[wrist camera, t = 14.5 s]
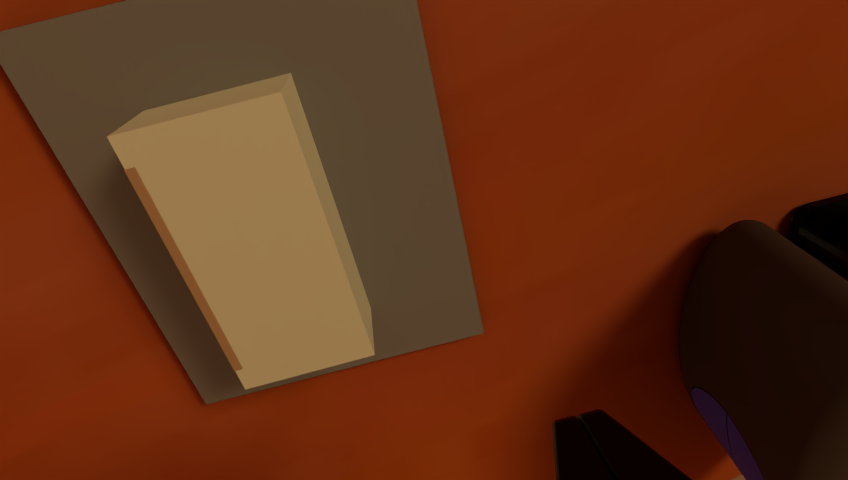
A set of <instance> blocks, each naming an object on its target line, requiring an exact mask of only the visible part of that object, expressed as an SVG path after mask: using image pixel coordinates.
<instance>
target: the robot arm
mask: <svg viewBox="0 0 848 480" xmlns="http://www.w3.org/2000/svg"><path fill="white" fill-rule="evenodd" d="M790 241H791V242H792V243H794V244H795V245H796V246H798V247H799V248H801V249H802V250H804V251H805V252H806V253H808V254H809V255H811V256H812V257H814V258H815V259H817V260H818V261H819V262H821V263H822V264H824V265H825V266H827V267H828V268H829V269H831V270H832V271H834V272H835V273H837V274H838V275H840V276H841V277H842V278H844V279H845V280H847V281H848V193H847V194H843V195H839V196H835V197H831V198H827V199H823V200H819V201H815V202H811V203H807V204H805V205H802V206H801V207H800V208H798V210H797V211H796V212H795V215H794V219H793V225H792V231H791V238H790ZM553 439H554V454H555V469H556V480H691V479H690V478H689V477H688V476H686V475H685V474H684V473H682V472H681V471H680V470H679V469H677V468H676V467H675V466H674V465H672V464H671V463H670V462H668V461H667V460H666V459H665V458H663V457H662V456H661V455H659V454H658V453H657V452H656V451H654V450H653V449H652V448H650V447H649V446H648V445H647V444H645V443H644V442H643V441H641V440H640V439H639V438H638V437H636V436H635V435H634V434H632V433H631V432H630V431H629V430H627V429H626V428H625V427H623V426H622V425H621V424H620V423H618V422H617V421H616V420H615V419H613V418H612V417H611V416H609V415H608V414H607V413H606V412H604V411H602V410H599V409H598V410H593V411H589V412H585V413H581V414H579V415H578V416H577V418H576V417H575V416H570V417H566V418H562V419H558V420H555V421H554V422H553Z"/></svg>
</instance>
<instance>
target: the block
mask: <svg viewBox="0 0 848 480" xmlns="http://www.w3.org/2000/svg"><path fill="white" fill-rule="evenodd" d="M107 138H108V140H109V142H110V144H111V145H112V147H113V149H114V151H115V153H116V155H117V156H118V158H119V160H120V162H121V164H122V166H123V167H124V169H125V170H124V171H125V173H126V175H127V176H128V178H129V180H130V182H131V184H132V186H133V187H134V189H135V191H136V193H137V195H138V197H139V198H140V200H141V202H142V204H143V206H144V207H145V209H146V211H147V213H148V215H149V217H150V218H151V220H152V222H153V224H154V226H155V227H156V229H157V231H158V233H159V235H160V237H161V238H162V240H163V242H164V244H165V246H166V248H167V249H168V251H169V253H170V255H171V257H172V258H173V260H174V262H175V264H176V266H177V268H178V269H179V271H180V273H181V275H182V277H183V278H184V280H185V282H186V284H187V286H188V288H189V289H190V291H191V293H192V295H193V297H194V299H195V300H196V302H197V304H198V306H199V308H200V309H201V311H202V313H203V315H204V317H205V319H206V320H207V322H208V324H209V326H210V328H211V329H212V331H213V333H214V335H215V337H216V339H217V340H218V342H219V344H220V346H221V348H222V350H223V351H224V353H225V355H226V357H227V359H228V360H229V362H230V364H231V366H232V368H233V370H234V371H235V372H236V374H237V375H238V377H239V379H240V381H241V383H242V385H243V386H244V388H245V390H246V389H250V388H253V387H257V386H261V385H265V384H268V383H272V382H276V381H280V380H283V379H287V378H291V377H295V376H298V375H302V374H306V373H309V372H313V371H317V370H321V369H324V368H328V367H332V366H336V365H339V364H343V363H347V362H350V361H354V360H358V359H362V358H365V357H369V356H373V355H375V352H374V340H373V327H372V315H371V307H370V304H369V301H368V298H367V295H366V292H365V289H364V287H363V284H362V281H361V278H360V275H359V272H358V269H357V266H356V263H355V260H354V257H353V254H352V251H351V248H350V245H349V242H348V240H347V237H346V234H345V231H344V228H343V225H342V222H341V219H340V216H339V213H338V210H337V207H336V204H335V201H334V198H333V195H332V193H331V190H330V187H329V184H328V181H327V178H326V175H325V172H324V169H323V166H322V163H321V160H320V157H319V154H318V151H317V148H316V146H315V143H314V140H313V137H312V134H311V131H310V128H309V125H308V122H307V119H306V116H305V113H304V110H303V107H302V104H301V101H300V99H299V96H298V93H297V90H296V87H295V84H294V81H293V78H292V75H291V73H288V74H284V75H280V76H277V77H273V78H269V79H265V80H261V81H257V82H253V83H249V84H245V85H242V86H238V87H234V88H230V89H226V90H222V91H218V92H214V93H211V94H207V95H203V96H199V97H195V98H191V99H187V100H183V101H179V102H176V103H172V104H168V105H164V106H160V107H156V108H152V109H148V110H144V111H143V112H141V113H140V114H138V115H137V116H136V117H134V118H133V119H131V120H130V121H128V122H127V123H126V124H124V125H123V126H121V127H120V128H118V129H117V130H116V131H114V132H113V133H111V134H110V135H109V136H107Z"/></svg>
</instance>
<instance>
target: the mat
mask: <svg viewBox="0 0 848 480" xmlns="http://www.w3.org/2000/svg"><path fill="white" fill-rule="evenodd" d="M0 64H1V66H2V68H3V69H4V71H5V73H6V74H7V76H8V78H9V79H10V81H11V83H12V84H13V86H14V87H15V89H16V91H17V92H18V94H19V96H20V97H21V99H22V101H23V102H24V104H25V106H26V107H27V109H28V111H29V112H30V114H31V116H32V117H33V119H34V121H35V122H36V124H37V126H38V127H39V129H40V130H41V132H42V134H43V135H44V137H45V139H46V140H47V142H48V144H49V145H50V147H51V149H52V150H53V152H54V154H55V155H56V157H57V159H58V160H59V162H60V164H61V165H62V167H63V168H64V170H65V172H66V173H67V175H68V177H69V178H70V180H71V182H72V183H73V185H74V187H75V188H76V190H77V192H78V193H79V195H80V197H81V198H82V200H83V202H84V203H85V205H86V207H87V208H88V210H89V211H90V213H91V215H92V216H93V218H94V220H95V221H96V223H97V225H98V226H99V228H100V230H101V231H102V233H103V235H104V236H105V238H106V240H107V241H108V243H109V245H110V246H111V248H112V249H113V251H114V253H115V254H116V256H117V258H118V259H119V261H120V263H121V264H122V266H123V268H124V269H125V271H126V273H127V274H128V276H129V278H130V279H131V281H132V283H133V284H134V286H135V288H136V289H137V291H138V292H139V294H140V296H141V297H142V299H143V301H144V302H145V304H146V306H147V307H148V309H149V311H150V312H151V314H152V316H153V317H154V319H155V321H156V322H157V324H158V326H159V327H160V329H161V331H162V332H163V334H164V335H165V337H166V339H167V340H168V342H169V344H170V345H171V347H172V349H173V350H174V352H175V354H176V355H177V357H178V359H179V360H180V362H181V364H182V365H183V367H184V369H185V370H186V372H187V373H188V375H189V377H190V378H191V380H192V382H193V383H194V385H195V387H196V388H197V390H198V392H199V393H200V395H201V397H202V398H203V400H204V402H205V403H206V404H210V403H214V402H217V401H221V400H225V399H229V398H233V397H237V396H241V395H245V394H249V393H253V392H256V391H260V390H264V389H268V388H272V387H276V386H280V385H284V384H288V383H292V382H295V381H299V380H303V379H307V378H311V377H315V376H319V375H323V374H327V373H330V372H334V371H338V370H342V369H346V368H350V367H354V366H358V365H362V364H366V363H369V362H373V361H377V360H381V359H385V358H389V357H393V356H397V355H401V354H405V353H408V352H412V351H416V350H420V349H424V348H428V347H432V346H436V345H440V344H444V343H447V342H451V341H455V340H459V339H463V338H467V337H471V336H475V335H479V334H483V333H484V331H483V326H482V321H481V316H480V311H479V306H478V301H477V296H476V292H475V287H474V282H473V277H472V272H471V267H470V262H469V257H468V252H467V247H466V242H465V237H464V232H463V227H462V222H461V217H460V212H459V207H458V202H457V198H456V193H455V188H454V183H453V178H452V173H451V168H450V163H449V158H448V153H447V148H446V143H445V138H444V133H443V128H442V123H441V118H440V113H439V108H438V104H437V99H436V94H435V89H434V84H433V79H432V74H431V69H430V64H429V59H428V54H427V49H426V44H425V39H424V34H423V29H422V24H421V19H420V14H419V9H418V5H417V0H126V1H122V2H118V3H114V4H110V5H106V6H102V7H98V8H94V9H89V10H85V11H81V12H77V13H73V14H69V15H65V16H61V17H57V18H53V19H49V20H45V21H41V22H37V23H33V24H29V25H25V26H21V27H17V28H13V29H9V30H5V31H1V32H0ZM288 73H291V75H292V78H293V81H294V84H295V87H296V90H297V93H298V96H299V99H300V101H301V104H302V107H303V110H304V113H305V116H306V119H307V122H308V125H309V128H310V131H311V134H312V137H313V140H314V143H315V146H316V148H317V151H318V154H319V157H320V160H321V163H322V166H323V169H324V172H325V175H326V178H327V181H328V184H329V187H330V190H331V193H332V195H333V198H334V201H335V204H336V207H337V210H338V213H339V216H340V219H341V222H342V225H343V228H344V231H345V234H346V237H347V240H348V242H349V245H350V248H351V251H352V254H353V257H354V260H355V263H356V266H357V269H358V272H359V275H360V278H361V281H362V284H363V287H364V289H365V292H366V295H367V298H368V301H369V304H370V307H371V315H372V327H373V340H374V352H375V355H373V356H369V357H365V358H362V359H358V360H354V361H350V362H347V363H343V364H339V365H336V366H332V367H328V368H324V369H321V370H317V371H313V372H309V373H306V374H302V375H298V376H295V377H291V378H287V379H283V380H280V381H276V382H272V383H268V384H265V385H261V386H257V387H253V388H250V389H246V390H245V388H244V386H243V385H242V383H241V381H240V379H239V377H238V375H237V374H236V372H235V371H234V370H233V368H232V366H231V364H230V362H229V360H228V359H227V357H226V355H225V353H224V351H223V350H222V348H221V346H220V344H219V342H218V340H217V339H216V337H215V335H214V333H213V331H212V329H211V328H210V326H209V324H208V322H207V320H206V319H205V317H204V315H203V313H202V311H201V309H200V308H199V306H198V304H197V302H196V300H195V299H194V297H193V295H192V293H191V291H190V289H189V288H188V286H187V284H186V282H185V280H184V278H183V277H182V275H181V273H180V271H179V269H178V268H177V266H176V264H175V262H174V260H173V258H172V257H171V255H170V253H169V251H168V249H167V248H166V246H165V244H164V242H163V240H162V238H161V237H160V235H159V233H158V231H157V229H156V227H155V226H154V224H153V222H152V220H151V218H150V217H149V215H148V213H147V211H146V209H145V207H144V206H143V204H142V202H141V200H140V198H139V197H138V195H137V193H136V191H135V189H134V187H133V186H132V184H131V182H130V180H129V178H128V176H127V175H126V173H125V171H124V170H125V169H124V167H123V166H122V164H121V162H120V160H119V158H118V156H117V155H116V153H115V151H114V149H113V147H112V145H111V144H110V142H109V140H108V138H107V136H109V135H110V134H111V133H113V132H114V131H116V130H117V129H118V128H120V127H121V126H123V125H124V124H126V123H127V122H128V121H130V120H131V119H133V118H134V117H136V116H137V115H138V114H140V113H141V112H143V111H144V110H148V109H152V108H156V107H160V106H164V105H168V104H172V103H176V102H179V101H183V100H187V99H191V98H195V97H199V96H203V95H207V94H211V93H214V92H218V91H222V90H226V89H230V88H234V87H238V86H242V85H245V84H249V83H253V82H257V81H261V80H265V79H269V78H273V77H277V76H280V75H284V74H288Z"/></svg>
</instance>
